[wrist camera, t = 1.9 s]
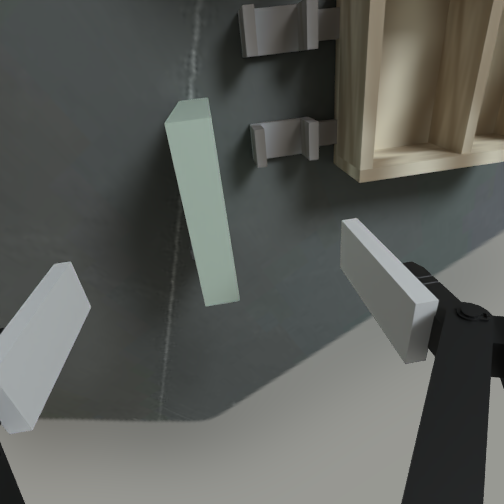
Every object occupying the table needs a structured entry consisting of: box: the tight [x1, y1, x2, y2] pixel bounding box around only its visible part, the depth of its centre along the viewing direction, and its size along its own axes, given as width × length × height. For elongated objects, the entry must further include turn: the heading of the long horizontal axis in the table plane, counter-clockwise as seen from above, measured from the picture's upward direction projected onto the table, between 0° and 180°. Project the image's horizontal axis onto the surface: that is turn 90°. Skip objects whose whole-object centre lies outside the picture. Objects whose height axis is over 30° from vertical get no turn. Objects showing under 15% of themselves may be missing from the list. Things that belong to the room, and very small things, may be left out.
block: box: [164, 98, 240, 306], centre depth 25 cm, size 3×12×12 cm, turn 6°
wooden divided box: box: [238, 0, 504, 183], centre depth 26 cm, size 24×14×6 cm, turn 96°
